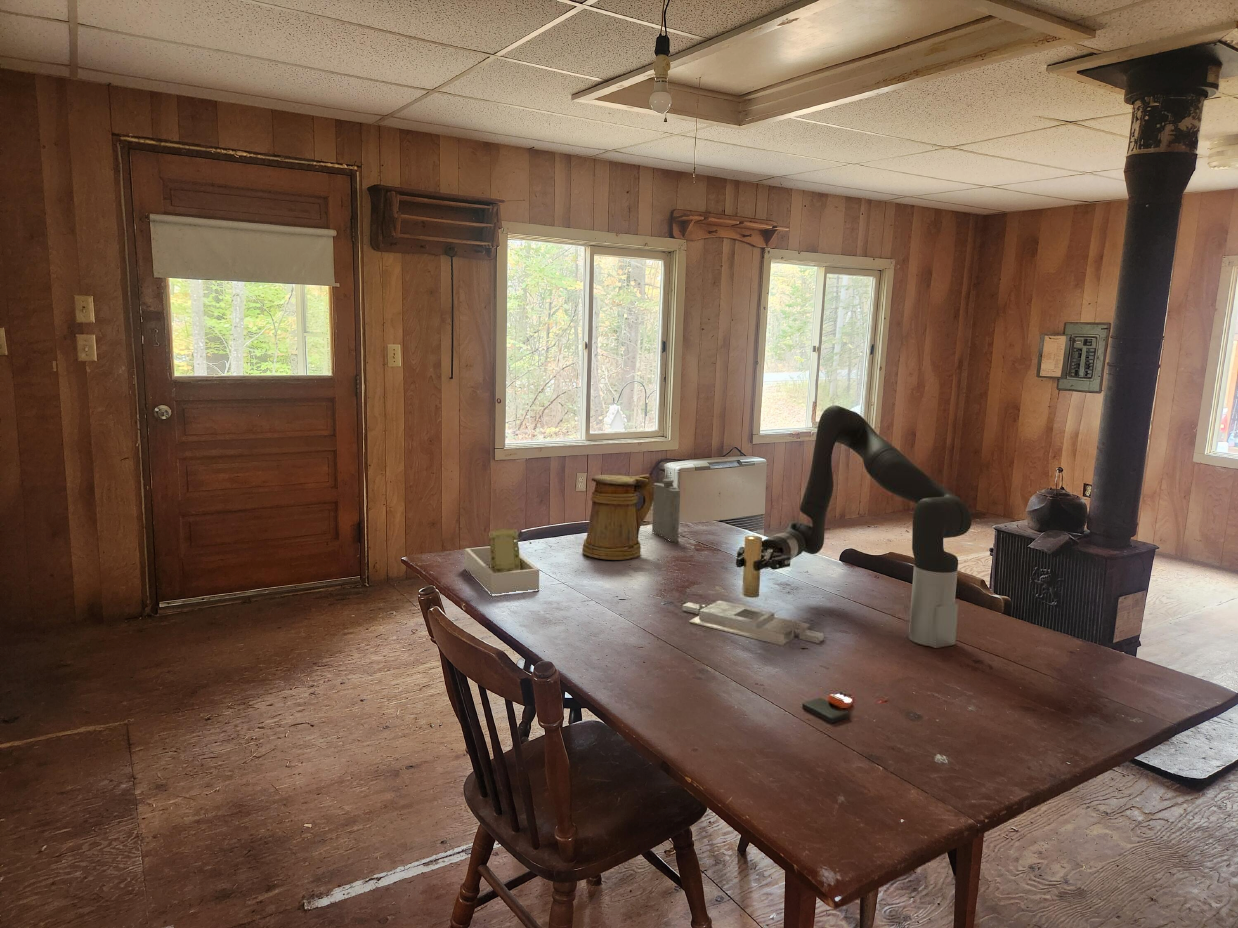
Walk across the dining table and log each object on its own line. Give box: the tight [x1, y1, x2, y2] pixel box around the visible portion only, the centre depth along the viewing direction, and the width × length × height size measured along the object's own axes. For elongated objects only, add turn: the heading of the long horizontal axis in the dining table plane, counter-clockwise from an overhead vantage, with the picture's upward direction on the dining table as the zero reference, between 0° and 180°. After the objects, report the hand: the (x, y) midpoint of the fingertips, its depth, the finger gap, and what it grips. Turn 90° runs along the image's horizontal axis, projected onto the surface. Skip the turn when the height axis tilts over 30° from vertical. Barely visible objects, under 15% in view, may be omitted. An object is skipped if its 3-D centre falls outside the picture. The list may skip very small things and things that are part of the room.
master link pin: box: [741, 535, 763, 599], centre depth 191 cm, size 4×4×14 cm
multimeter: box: [801, 691, 889, 725], centre depth 151 cm, size 18×12×3 cm, turn 118°
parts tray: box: [464, 546, 540, 595], centre depth 224 cm, size 28×13×6 cm, turn 25°
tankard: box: [581, 473, 654, 561], centre depth 254 cm, size 18×24×25 cm
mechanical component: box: [488, 528, 521, 573], centre depth 222 cm, size 8×17×20 cm, turn 8°
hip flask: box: [651, 478, 681, 542], centre depth 278 cm, size 16×4×20 cm, turn 24°
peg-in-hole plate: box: [682, 600, 825, 647], centre depth 192 cm, size 36×16×2 cm, turn 55°
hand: (747, 564), depth 188 cm, fingers closed on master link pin, 4 cm apart
